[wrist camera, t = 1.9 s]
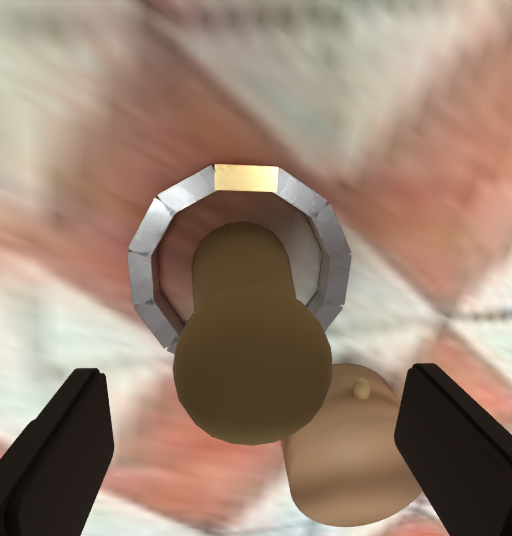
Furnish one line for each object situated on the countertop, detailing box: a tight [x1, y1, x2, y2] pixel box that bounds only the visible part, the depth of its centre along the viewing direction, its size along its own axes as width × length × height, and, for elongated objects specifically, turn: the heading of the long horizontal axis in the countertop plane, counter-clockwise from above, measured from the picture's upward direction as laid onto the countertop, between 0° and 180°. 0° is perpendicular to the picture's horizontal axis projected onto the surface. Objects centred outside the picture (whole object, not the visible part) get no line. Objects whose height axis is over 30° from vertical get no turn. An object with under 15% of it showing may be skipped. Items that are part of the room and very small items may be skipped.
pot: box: [281, 364, 423, 527], centre depth 21 cm, size 11×9×5 cm
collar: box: [127, 164, 351, 354], centre depth 18 cm, size 12×12×2 cm
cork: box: [173, 222, 332, 446], centre depth 14 cm, size 6×6×11 cm
